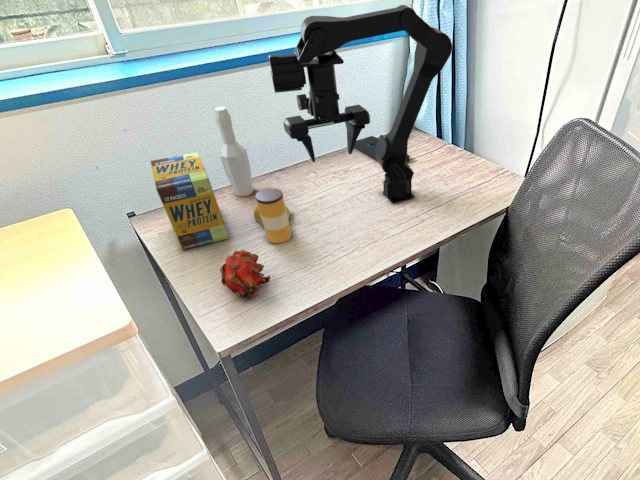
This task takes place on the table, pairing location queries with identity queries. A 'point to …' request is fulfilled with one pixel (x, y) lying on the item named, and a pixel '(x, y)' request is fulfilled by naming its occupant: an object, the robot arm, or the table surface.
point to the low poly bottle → (233, 156)
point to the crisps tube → (274, 215)
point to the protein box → (189, 200)
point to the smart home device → (370, 147)
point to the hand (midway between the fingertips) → (332, 157)
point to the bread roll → (258, 216)
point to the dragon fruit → (243, 274)
